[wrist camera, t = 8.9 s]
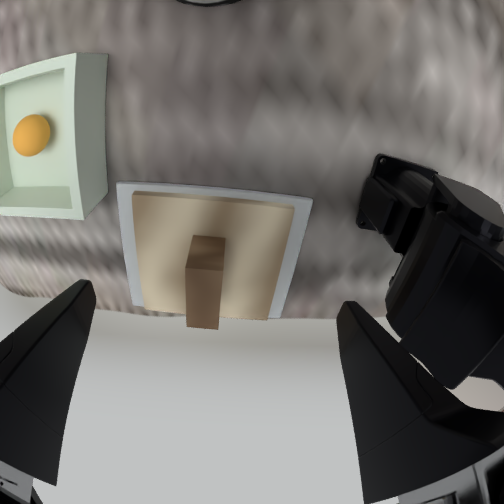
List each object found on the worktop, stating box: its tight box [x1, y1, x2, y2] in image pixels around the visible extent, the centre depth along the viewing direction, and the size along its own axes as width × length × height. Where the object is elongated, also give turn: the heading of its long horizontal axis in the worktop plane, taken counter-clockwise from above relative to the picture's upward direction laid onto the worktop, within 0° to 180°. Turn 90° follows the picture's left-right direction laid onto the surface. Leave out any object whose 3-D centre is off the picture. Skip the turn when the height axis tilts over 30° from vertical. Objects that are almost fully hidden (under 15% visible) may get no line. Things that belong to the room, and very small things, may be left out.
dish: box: [0, 53, 108, 220], centre depth 15 cm, size 11×11×4 cm
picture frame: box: [116, 181, 313, 318], centre depth 24 cm, size 15×13×1 cm
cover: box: [132, 191, 295, 330], centre depth 22 cm, size 12×12×5 cm
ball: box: [12, 114, 50, 157], centre depth 14 cm, size 3×3×3 cm
